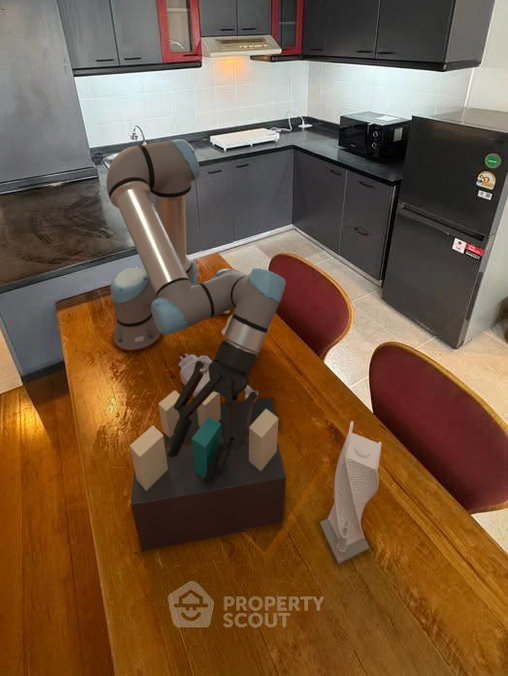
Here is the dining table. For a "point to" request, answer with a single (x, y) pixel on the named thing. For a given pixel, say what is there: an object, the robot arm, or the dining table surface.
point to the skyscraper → (352, 495)
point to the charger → (188, 369)
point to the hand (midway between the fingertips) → (190, 467)
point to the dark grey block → (205, 414)
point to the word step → (206, 489)
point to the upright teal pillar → (206, 445)
